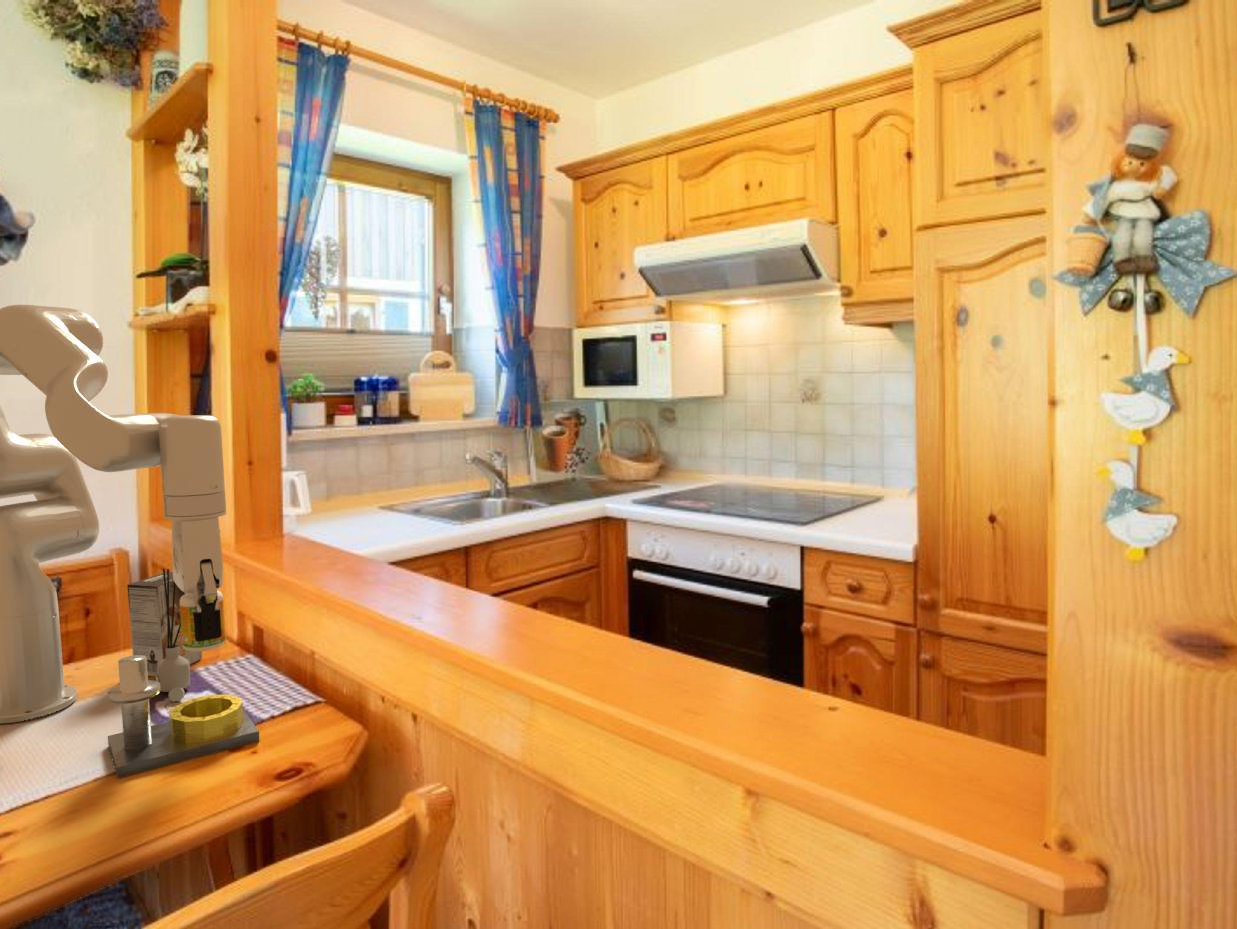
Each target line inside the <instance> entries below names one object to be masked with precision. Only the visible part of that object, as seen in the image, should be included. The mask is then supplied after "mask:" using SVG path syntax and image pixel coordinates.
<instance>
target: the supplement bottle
mask: <svg viewBox="0 0 1237 929" xmlns="http://www.w3.org/2000/svg"><path fill="white" fill-rule="evenodd" d="M197 589H204V586H203V585H197ZM217 593H218V601H219V609H220V617H221V633H222V635H221V637H220V638H215V639H210V640H205V641H200V642H198V641H196V640H195V632H194V617H193V613H194V612H196V610H195V602H194V594H193V590H190V591H189V593H186V594H184V595H183V596H182V597H181V598H180V617H181V631H182V645H183V649H185V650H186V651H191V652H201V651H202V652H207V651H211V650H215V649H218V648H220V647H222V646H224V644H225V643H226V627H225V626H226V624H225V609H224V608H225V607H224V595H223V593H222V592H221V591H220V590H218V589H217ZM199 596H200V598H201V596H204V594H199ZM200 602H201V601H200Z"/></svg>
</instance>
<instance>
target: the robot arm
mask: <svg viewBox="0 0 1237 929" xmlns="http://www.w3.org/2000/svg"><path fill="white" fill-rule="evenodd" d="M101 330H102V329H101V327H100V326H99V325H98V323H97V322H96V321H95V320H94V318H92V317H91V316H90V315H89V314H87V313H85V312H83V311H82V310H79V309H77V308H69V307H59V306H58V307H57V306H45V305H35V304H34V305H33V304H13V305H8V306H7V305H6V306H4V307H1V308H0V375H1V376H6V375H7V376H21V375H22V376H23V377H24V378H26V379H27V380H28V381H29V382H30V383H32V385H34V386H35V387H36V388H37V389H38V390H39V391H40V392H41V393H43V394H44V395H45V396H46V397H45V403H44V412H45V417H46V420H47V425H48V428H49V430H50V432H51V434H47V433H28V434H27V433H26V434H16V433H15V432H13V431H12V429H11V428H10V426H9V424H8V422H7V420H6V417H5V414H4V410H3V409H2V406H1V405H0V499H7V498H9V499H10V498H14V497H21V496H22V497H23V496H28V495H34V497H35V499H36V500H32V501H24V502H19V503H18V502H17V503H10V504H4V505H0V724H11V723H12V724H13V723H19V722H25V721H29V720H28V719H30V720H34V719H33V718H35V717H39V716H42V717H45V716H47V715H46V714H49V715H50V714H51V713H52V714H54V713H57V712H59V711H61V710H64V709H65V708H67V707H69V706H70V705H72V704H73V703H74V702H75V701H76V700H77V698H78V691H77V689H76V688H75V686H73V685H69V684H65V676H64V664H63V652H62V650H63V649H62V641H61V640H62V638H61V626H60V612H59V602H58V593H57V590H56V587H55V584H54V583H53V581H52V580H51V579H50V578H49V576H47V575H46V572H45V573H44V571H43V570H42V568H41V567H40V566H39V564H42V563H45V562H48V561H53V560H56V559H57V560H58V559H60V558H65V557H70V556H73V555H76V554H80V553H83V552H86V551H87V550H90V549H91V548H92V547H93V546H94V545H95V543H96V542H97V540H98V536H99V533H100V524H99V517H98V514H97V510H96V507H95V505H94V502H93V499H92V497H91V494H90V492H89V489H88V487H87V486H88V485H87V484H86V481H85V479H84V475H83V474H82V471H81V468H80V465H79V463H78V461H80V462H81V463H83V464H84V465H86V466H87V467H89V468H91V469H92V470H96V471H99V472H104V473H118V472H125V471H132V470H139V469H149V468H150V469H151V468H158V467H160V470H161V473H160V474H161V486H162V497H163V498H162V499H163V512H164V515H163V516H164V519H165V520H168V521H171V555H172V562H171V564H172V572H173V580H174V582H175V583H176V585H177V586H178V587H179V588H180V589H181V590H182V591H183V592H184V593H185V594H186V593H189V591H190V590H193V594H194V602H195V610H196V612H194V613H193V617H194V632H195V640H196V641H198V642H200V641H205V640H210V639H215V638H220V637H221V635H222V633H221V617H220V609H219V601H218V593H217V590H218V589H220V588H221V587H222V586H223V584H224V564H223V550H222V540H221V530H220V529H221V528H220V520H219V518H220V517H223V516H225V515H227V503H226V502H227V500H226V488H225V487H226V486H225V473H224V472H225V471H224V456H223V455H224V454H223V440H222V439H223V437H222V436H223V435H222V427H221V423H220V421H219V420H218V418H216V417H214V416H211V415H204V414H202V415H200V414H199V415H198V414H197V415H195V414H194V415H193V414H191V415H178V414H173V413H168V412H167V413H166V412H150V413H128V414H116V415H115V414H113V415H107V414H105V413H103V412H101V411H100V410H99V409H98V408H97V407H95V406H94V405H92V403H90V401H91V400H93V399H94V398H95V397H97V396H98V394H100V392H101V391H102V390H103V388H104V387H105V386H106V384H107V381H108V377H109V371H108V367H107V365H106V363H105V362H104V360H103V359H102V358H101V357H99V355H100V354H101V353H102V350H103V347H104V345H103V344H104V337H103V333H102V331H101ZM77 460H78V461H77ZM197 585H203V586H204V589H197ZM199 594H204V596H201V598H200V596H199ZM200 601H201V602H200ZM56 711H57V712H56ZM44 715H45V716H44ZM39 718H40V717H39ZM35 719H36V718H35ZM24 720H25V721H24Z"/></svg>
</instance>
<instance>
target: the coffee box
mask: <svg viewBox="0 0 1237 929" xmlns="http://www.w3.org/2000/svg"><path fill="white" fill-rule="evenodd" d="M165 578H166V588H167V571H165ZM126 585H127V597H128V611H129V622H130V623H129V625H130V636H131V648H132V656H133V655H144V656H146V660H147V675H148V677H156V676H157V671H156V670H157V665H158V664H159V663H160V662H161V661H162V660H164V659H165V658H166V649H165V647H166V646H168V642H167V607H166V597H165V587H164V577H163V572H162V573H159V574H155V575H152V576H149V577H146V578H144V579H140V580H137V581H135V582H134V581H133V582H131V583H128V584H126ZM173 589H174V580H173V571H169V618H170V628H171V624H172V607H173ZM184 594H185V593H184V592H183V591H182V590H181V589H180V588H179V587H178V586H177V585H176V587H175V605H174V622H173V640H172V645H173V644H174V641H175V638H176V635H177V632H178V629H179V626H180V623H181V617H180V598H181V597H182V596H183V595H184ZM175 644H176V645H178V647H179V656H181V657H183V658H185V659H187V660H188V661H189V664H190V665H192V664H193V663H196V662H197V661H200V660H202V659H203V653H202V652H203V651H201V652H191V651H186V650H185V649H183V645H182V631H181V628H180V631H179V634H178V637H177V640H176V643H175ZM169 645H170V637H169Z"/></svg>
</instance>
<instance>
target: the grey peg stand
mask: <svg viewBox="0 0 1237 929" xmlns="http://www.w3.org/2000/svg"><path fill="white" fill-rule="evenodd" d="M117 663H118V676H119V678H118V679H119V684H118V685H116V686H114V687H112V688H111V689H110V690H108V692H107V698H108V699H107V700H108V702H110V703H112V704H115V705H116V704H117V705H120V706H121V719H122V720H121V722H122V732H119V733H113V734H111V735H107V745H109V746H108V749H110V750H109V753H110V752H111V754H110V757H111V756H112V757H111V760H112V759H113V761H112V764H113V763H114V764H113V766H115V768H114V770H116V772H115V775H116V778H117V779H121V777H122V778H125V777H128V776H129V777H130V776H132V775H137V774H141V773H144V772H148V771H152V770H155V769H159V768H163V767H166V766H167V767H168V766H171V765H174V764H178V763H181V762H182V763H183V762H186V761H190V760H193V759H197V758H201V757H204V756H209V755H213V754H216V753H217V754H218V753H220V752H221V753H222V752H225V751H227V750H231V749H235V748H239V747H243V746H247V745H249V744H255V743H257V742H258V743H259V742H260V730H259V729H258V728H257V726H256V725H255V723H254V722H253V721H252V719H251V717H250V716H249V715H248V714H247V711H246V710H245V709H244V707H243V706H244V702H243V701H242V700H241V698H240V697H239V696H235V695H231V694H211V695H210V694H209V695H205V696H200V697H195V698H190V699H188V700H186V701H184V702H181V703H178V704H177V705H176V706H174V707H173V708H172V710H171V711H169V721H166V722H162V723H156V724H151V711H150V710H151V708H150V699H152V698H154V697H155V696H158V694H160V692H161V691H160V690H161V689H160V683H159V682H157V681H156V680H153V679H152V680H151V679H149V678H148V677H149V676H148V675H147V660H146V656H144V655H133V654H132V655H129V656H125V657H122V658H120V659H119V660H117Z"/></svg>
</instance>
